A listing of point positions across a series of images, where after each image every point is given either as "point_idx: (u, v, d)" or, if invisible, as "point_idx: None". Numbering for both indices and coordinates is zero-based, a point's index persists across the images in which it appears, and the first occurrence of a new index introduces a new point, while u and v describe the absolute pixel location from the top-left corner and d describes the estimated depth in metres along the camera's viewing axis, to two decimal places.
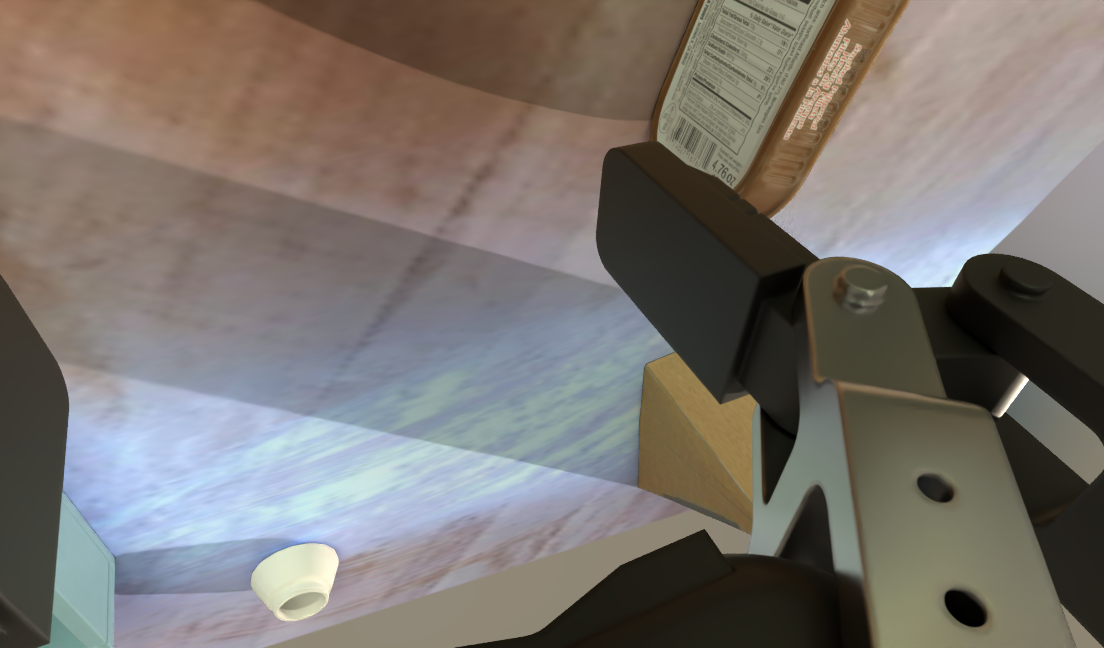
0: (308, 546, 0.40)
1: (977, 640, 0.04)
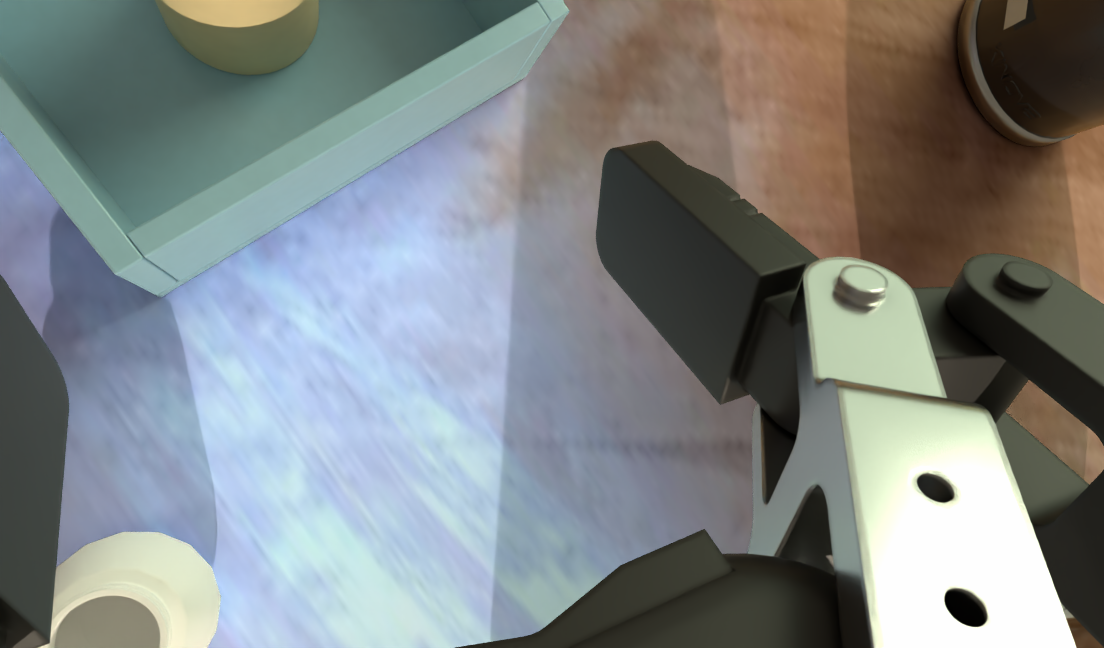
0: (218, 595, 0.21)
1: (977, 640, 0.04)
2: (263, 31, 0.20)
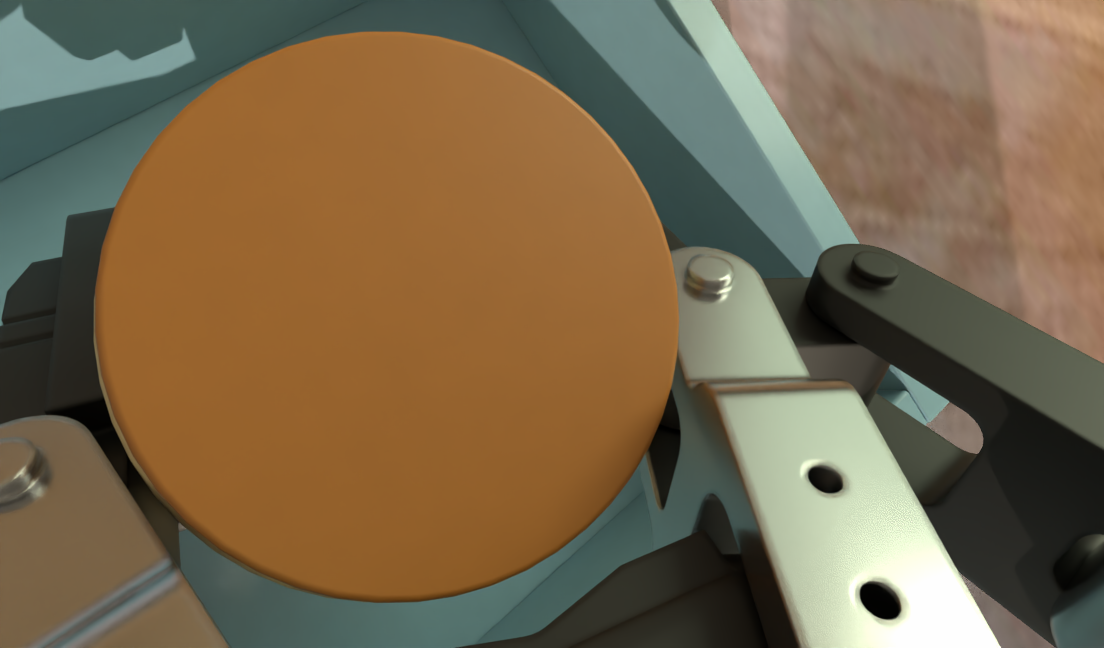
0: None
1: (977, 640, 0.04)
2: None
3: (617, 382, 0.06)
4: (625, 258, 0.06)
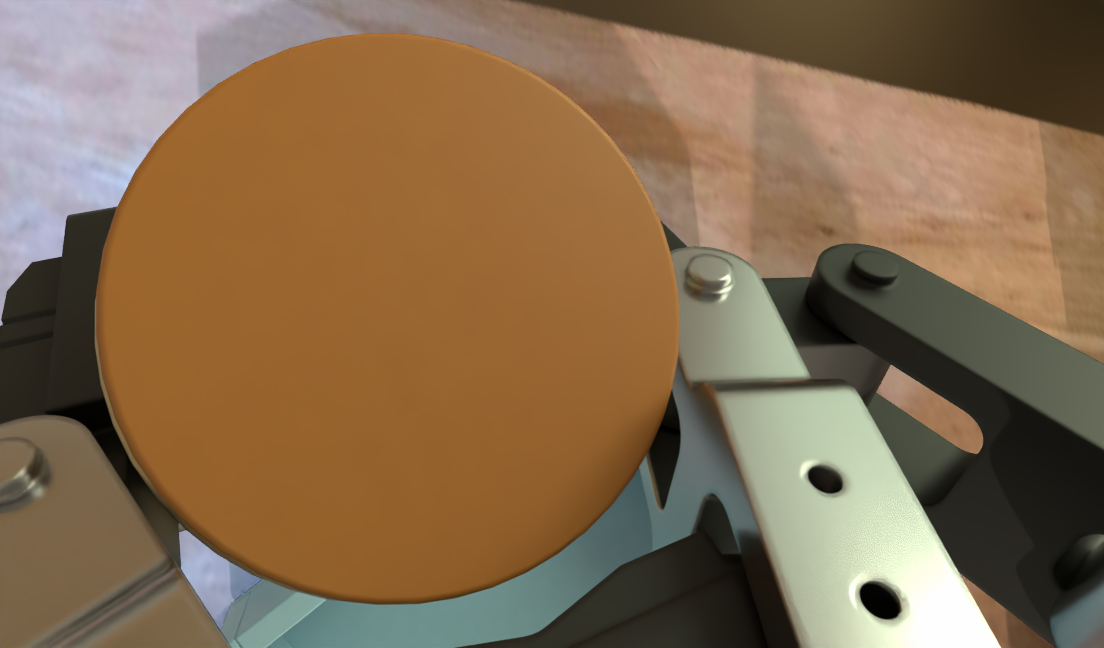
0: None
1: (977, 640, 0.04)
2: None
3: (618, 384, 0.06)
4: (626, 260, 0.06)
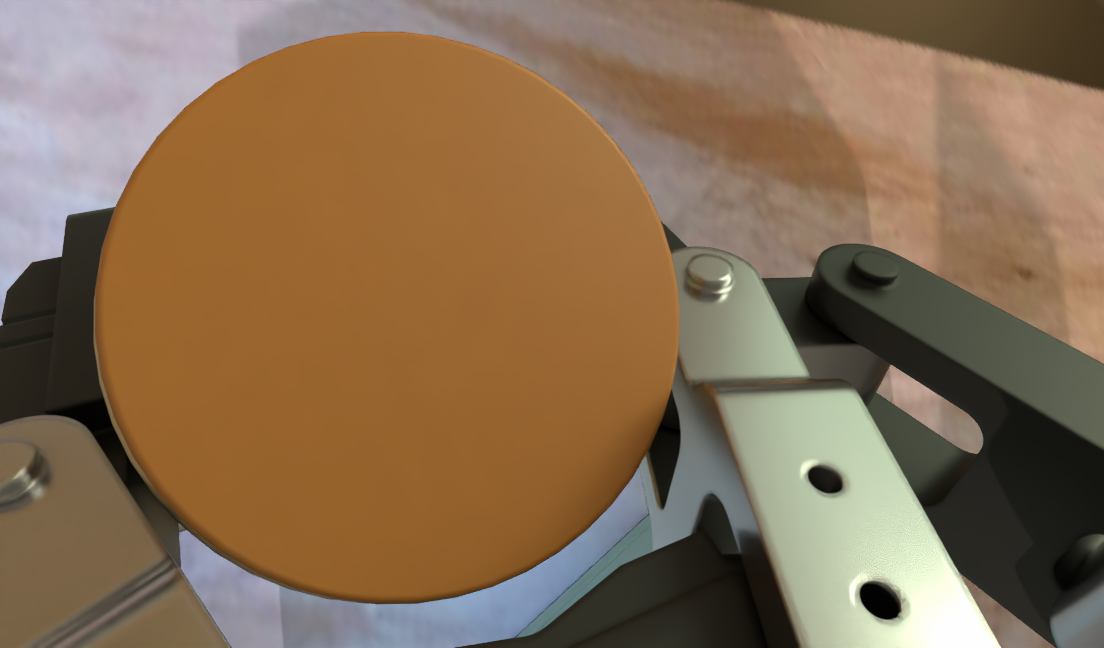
0: None
1: (977, 640, 0.04)
2: None
3: (617, 383, 0.06)
4: (625, 259, 0.06)
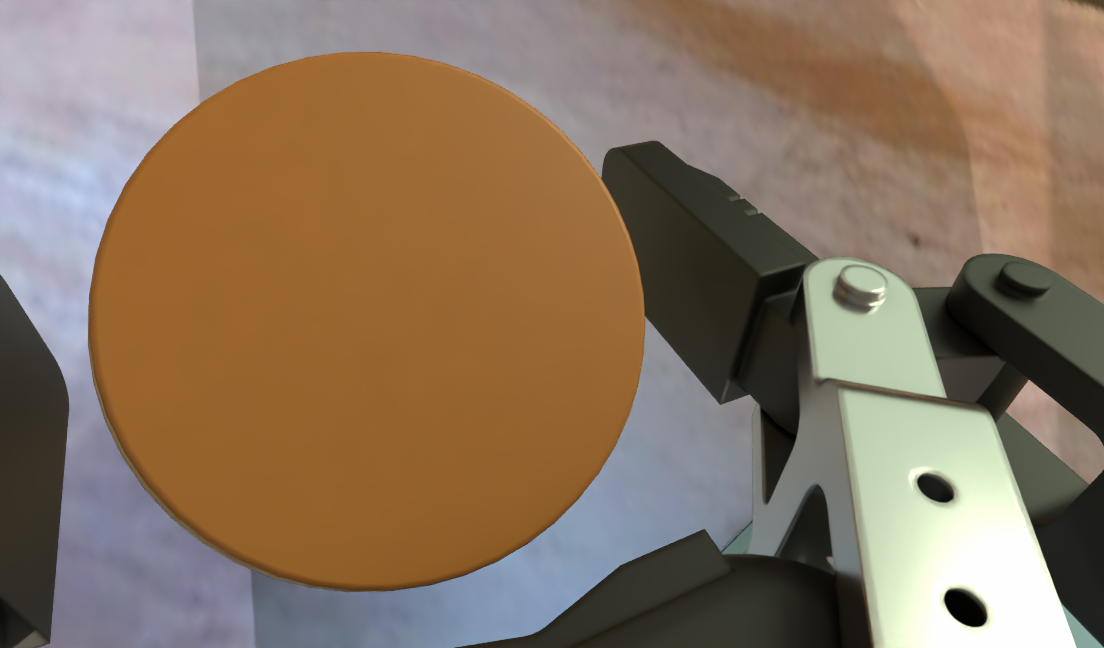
0: None
1: (976, 640, 0.04)
2: None
3: (585, 384, 0.06)
4: (593, 266, 0.06)
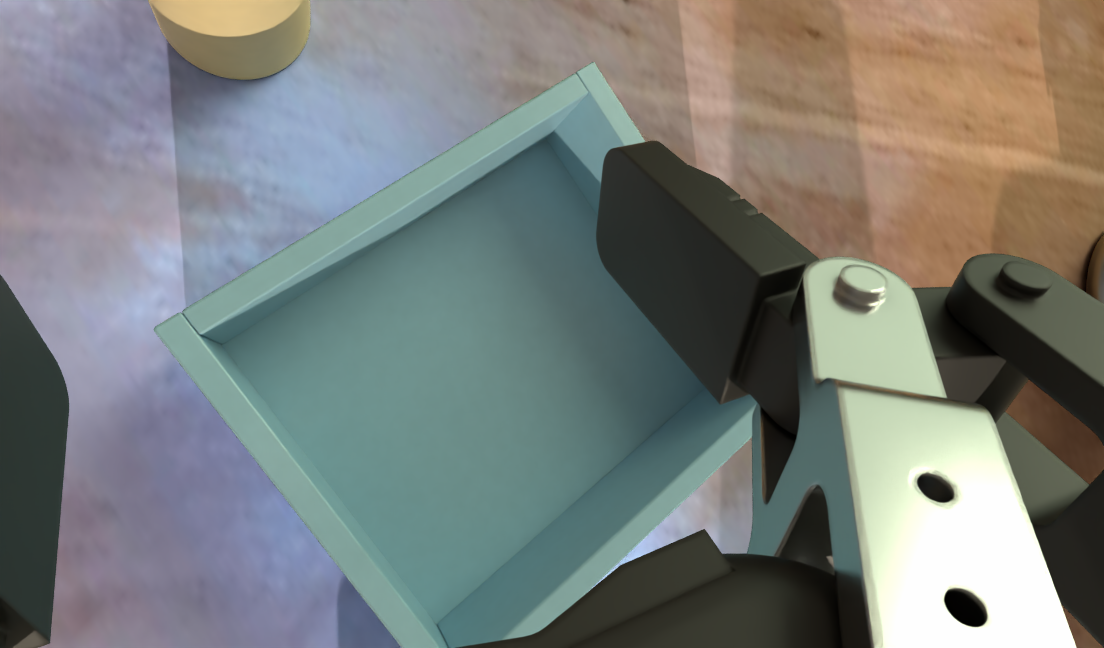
0: None
1: (977, 640, 0.04)
2: (255, 38, 0.21)
3: None
4: None
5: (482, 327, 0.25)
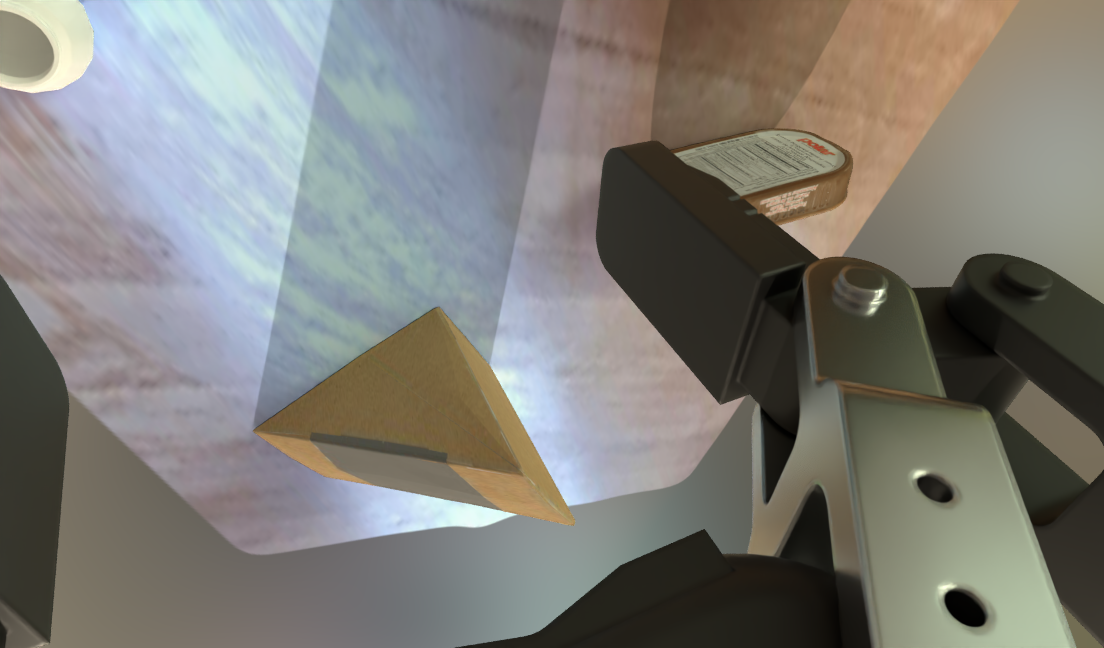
0: (92, 30, 0.27)
1: (977, 640, 0.04)
2: None
3: None
4: None
5: None
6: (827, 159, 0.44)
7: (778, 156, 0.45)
